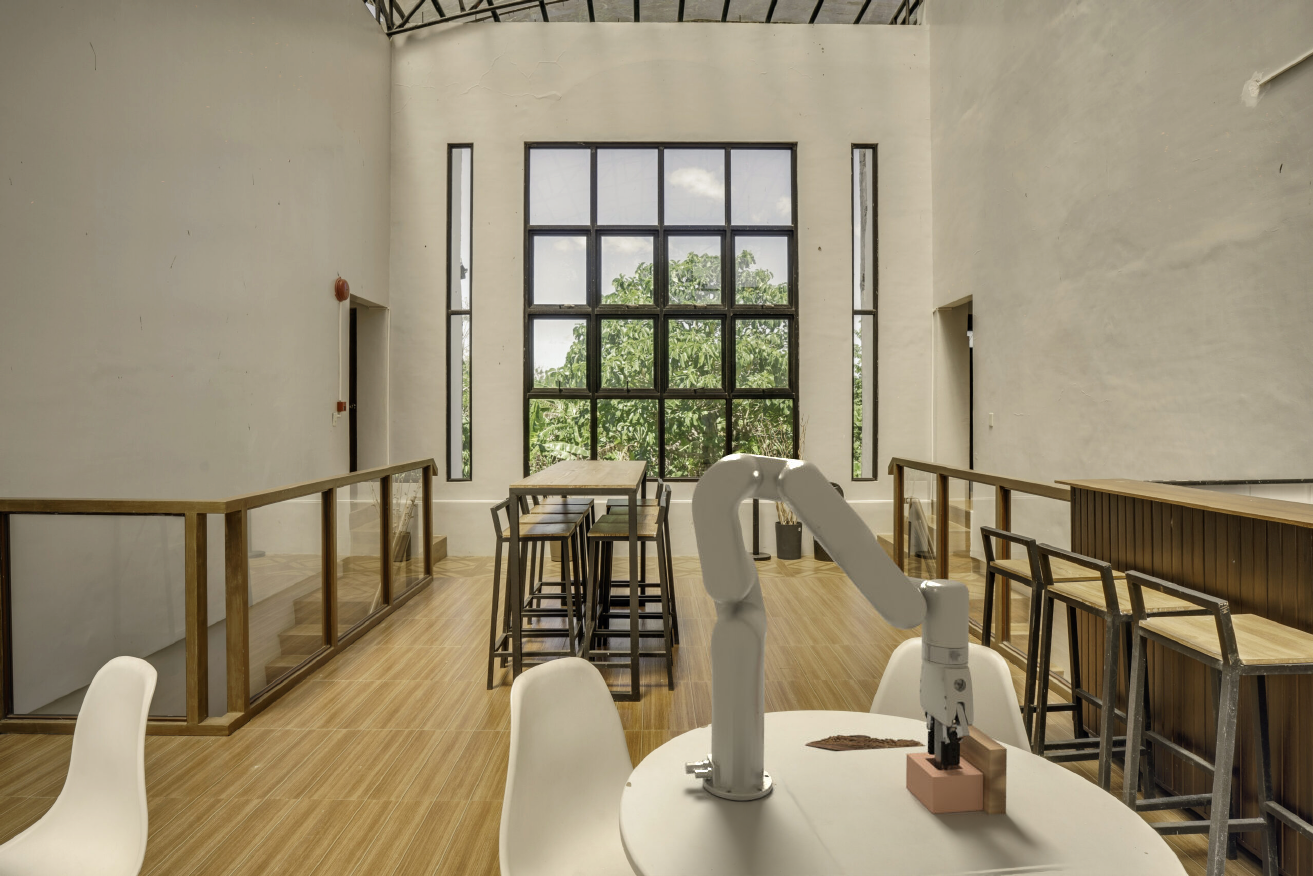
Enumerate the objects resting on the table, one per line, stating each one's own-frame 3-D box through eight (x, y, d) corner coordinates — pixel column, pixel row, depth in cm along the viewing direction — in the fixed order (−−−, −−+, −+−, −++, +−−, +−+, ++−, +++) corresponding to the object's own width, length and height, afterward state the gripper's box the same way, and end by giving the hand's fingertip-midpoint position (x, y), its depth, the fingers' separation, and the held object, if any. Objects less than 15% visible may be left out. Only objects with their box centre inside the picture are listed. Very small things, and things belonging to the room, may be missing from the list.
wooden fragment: (931, 743, 152) (931, 738, 152) (942, 767, 141) (942, 761, 141) (805, 733, 157) (805, 728, 157) (806, 755, 146) (806, 750, 146)
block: (932, 813, 120) (933, 777, 120) (906, 787, 129) (906, 753, 129) (982, 810, 122) (983, 774, 122) (953, 784, 131) (953, 751, 131)
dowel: (939, 792, 124) (940, 722, 124) (930, 784, 127) (931, 715, 127) (956, 791, 124) (956, 721, 124) (946, 783, 127) (947, 714, 127)
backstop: (989, 816, 120) (990, 749, 120) (949, 782, 132) (950, 721, 132) (1005, 815, 121) (1006, 748, 121) (965, 781, 133) (965, 720, 133)
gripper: (993, 667, 118) (992, 780, 118) (939, 639, 134) (938, 738, 134) (950, 669, 117) (949, 783, 117) (901, 640, 133) (900, 740, 133)
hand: (943, 758), depth 126 cm, fingers open, 3 cm apart
